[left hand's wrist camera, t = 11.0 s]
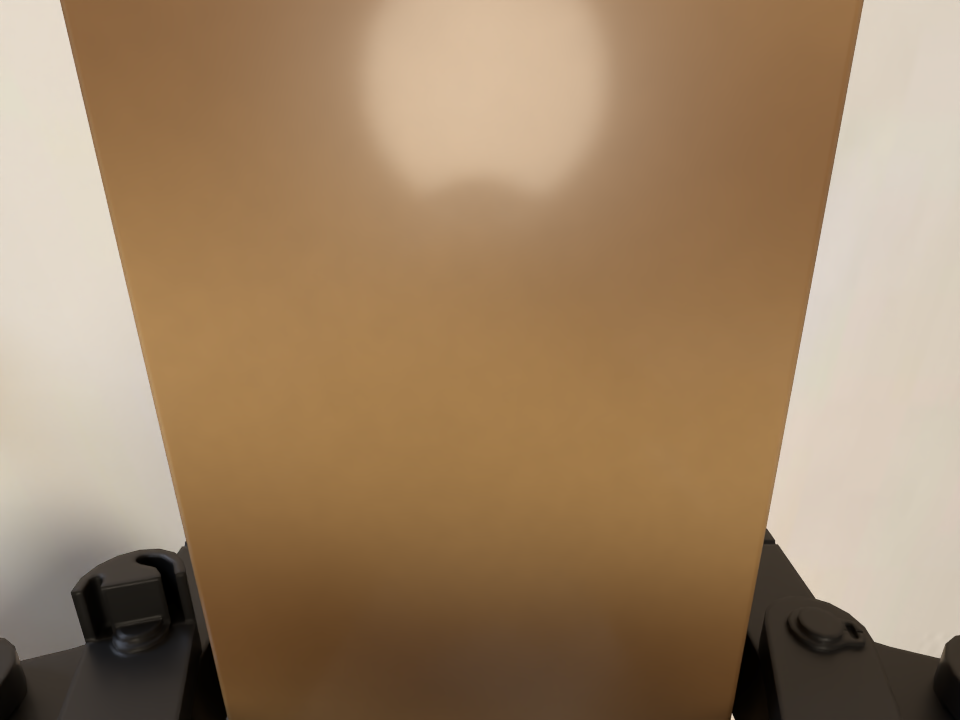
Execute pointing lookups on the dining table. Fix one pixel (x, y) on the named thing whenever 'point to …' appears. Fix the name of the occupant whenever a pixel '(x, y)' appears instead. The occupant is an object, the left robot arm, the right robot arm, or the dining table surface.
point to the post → (469, 332)
